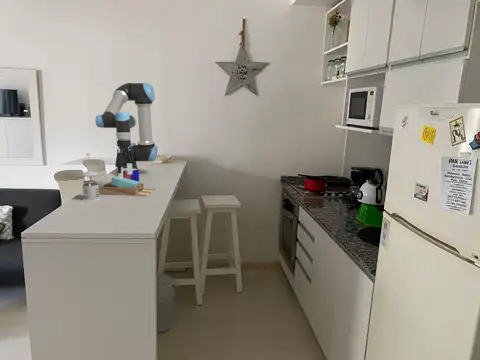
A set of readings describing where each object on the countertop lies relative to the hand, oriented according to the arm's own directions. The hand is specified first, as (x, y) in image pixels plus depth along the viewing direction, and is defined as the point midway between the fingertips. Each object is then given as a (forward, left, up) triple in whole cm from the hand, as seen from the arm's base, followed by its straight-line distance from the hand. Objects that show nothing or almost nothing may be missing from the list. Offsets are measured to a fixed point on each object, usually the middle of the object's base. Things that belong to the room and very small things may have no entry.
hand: (125, 176), depth 205 cm
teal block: (0, -1, -6) cm, 6 cm away
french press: (+17, -12, -10) cm, 23 cm away
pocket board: (0, -3, -9) cm, 10 cm away
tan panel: (0, +11, -9) cm, 15 cm away
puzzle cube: (-18, -6, -10) cm, 21 cm away
